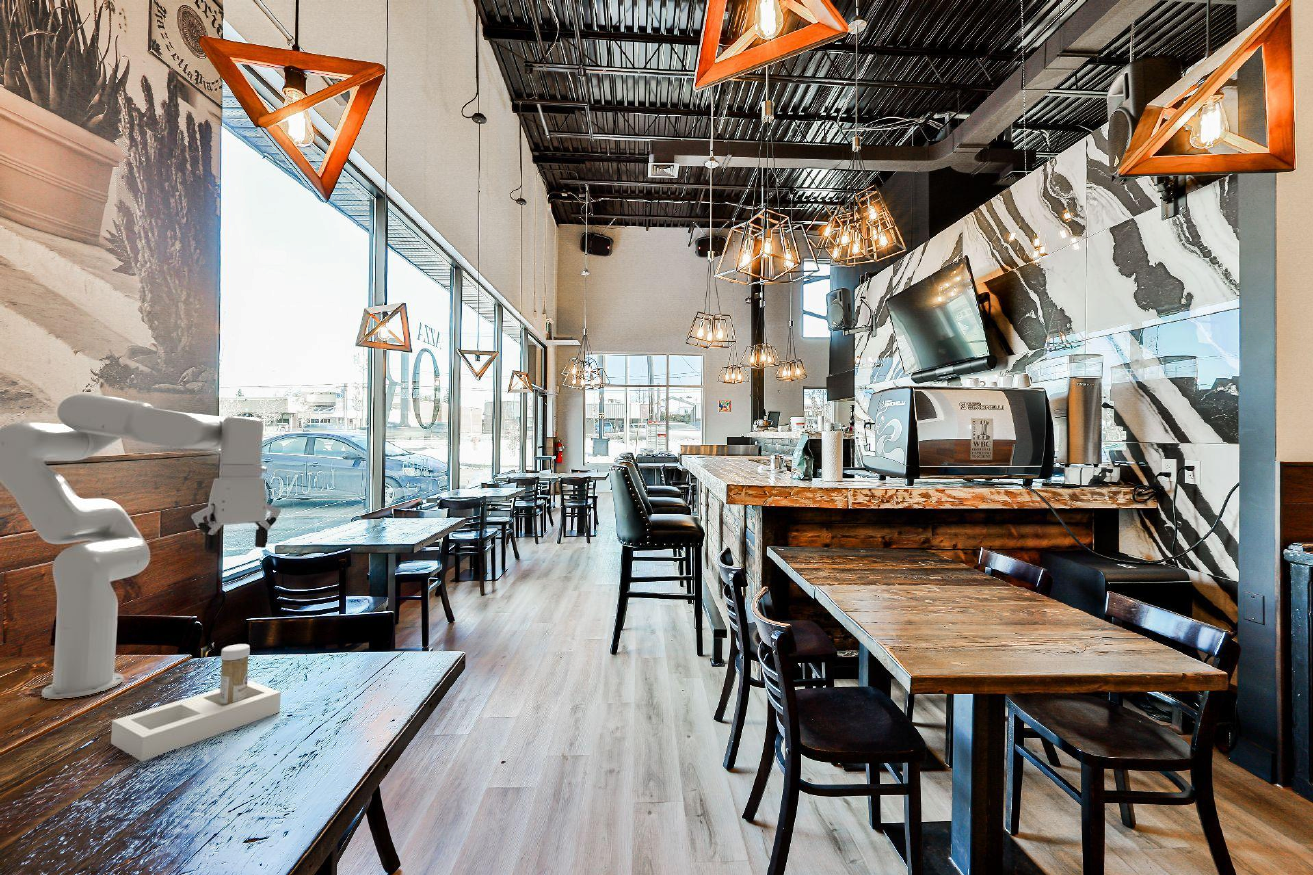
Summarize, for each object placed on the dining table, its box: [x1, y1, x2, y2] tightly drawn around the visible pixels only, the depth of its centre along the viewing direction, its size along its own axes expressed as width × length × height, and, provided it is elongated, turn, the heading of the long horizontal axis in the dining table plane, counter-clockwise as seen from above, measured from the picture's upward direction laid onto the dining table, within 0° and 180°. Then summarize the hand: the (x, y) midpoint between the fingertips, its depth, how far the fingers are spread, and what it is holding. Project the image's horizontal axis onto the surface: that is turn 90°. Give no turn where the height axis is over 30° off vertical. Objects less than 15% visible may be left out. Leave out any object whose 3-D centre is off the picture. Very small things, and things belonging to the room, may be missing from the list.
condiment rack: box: [110, 680, 282, 762], centre depth 109 cm, size 12×22×4 cm, turn 152°
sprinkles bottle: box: [219, 643, 251, 706], centre depth 114 cm, size 5×5×14 cm
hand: (236, 549), depth 128 cm, fingers open, 9 cm apart
